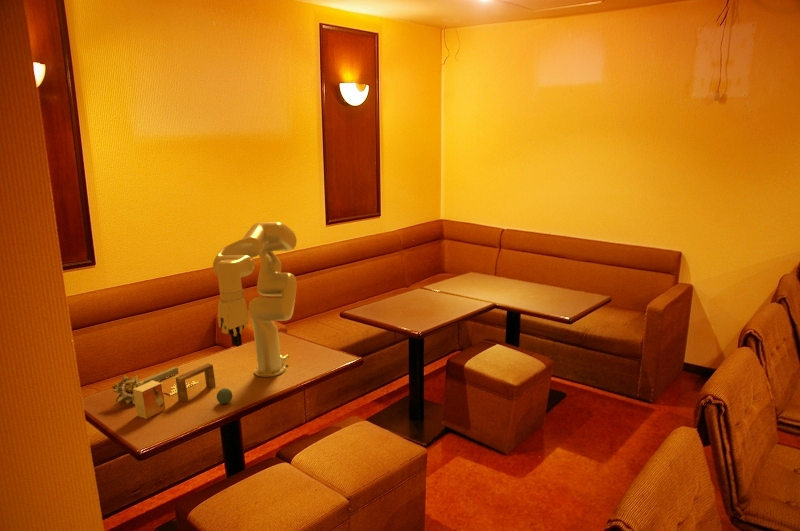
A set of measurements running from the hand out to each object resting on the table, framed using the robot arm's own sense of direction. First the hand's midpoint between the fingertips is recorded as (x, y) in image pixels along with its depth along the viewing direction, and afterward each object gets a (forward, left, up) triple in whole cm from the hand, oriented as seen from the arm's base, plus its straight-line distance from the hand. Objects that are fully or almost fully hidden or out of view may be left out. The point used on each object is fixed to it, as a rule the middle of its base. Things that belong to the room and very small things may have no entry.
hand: (237, 345), depth 199 cm
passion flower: (+19, -40, -23) cm, 50 cm away
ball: (+3, -6, -20) cm, 21 cm away
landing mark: (+3, -36, -23) cm, 43 cm away
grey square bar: (+3, -46, -23) cm, 52 cm away
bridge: (+3, -22, -23) cm, 32 cm away
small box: (+21, -24, -23) cm, 40 cm away
